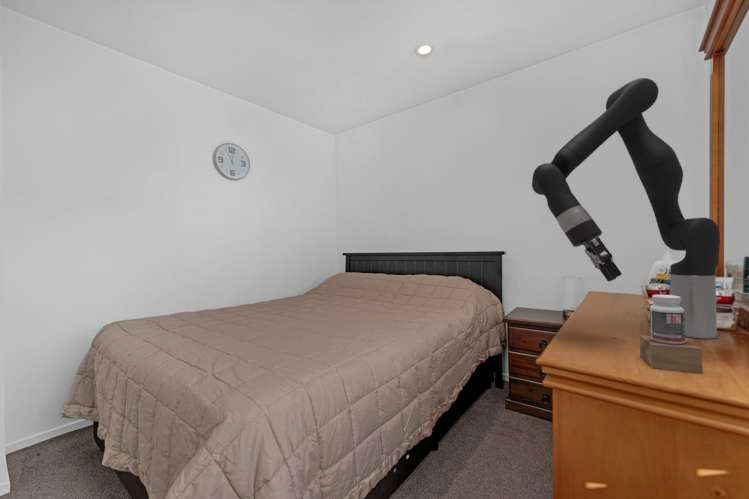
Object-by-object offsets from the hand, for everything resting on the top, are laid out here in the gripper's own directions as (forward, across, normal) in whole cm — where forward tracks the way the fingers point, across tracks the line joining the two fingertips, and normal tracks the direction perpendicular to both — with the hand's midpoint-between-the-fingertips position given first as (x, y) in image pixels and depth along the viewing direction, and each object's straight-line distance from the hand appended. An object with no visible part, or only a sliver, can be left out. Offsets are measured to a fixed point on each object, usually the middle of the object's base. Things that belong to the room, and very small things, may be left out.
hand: (614, 278), depth 83 cm
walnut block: (+21, -6, +2) cm, 22 cm away
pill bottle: (+16, -7, 0) cm, 18 cm away
